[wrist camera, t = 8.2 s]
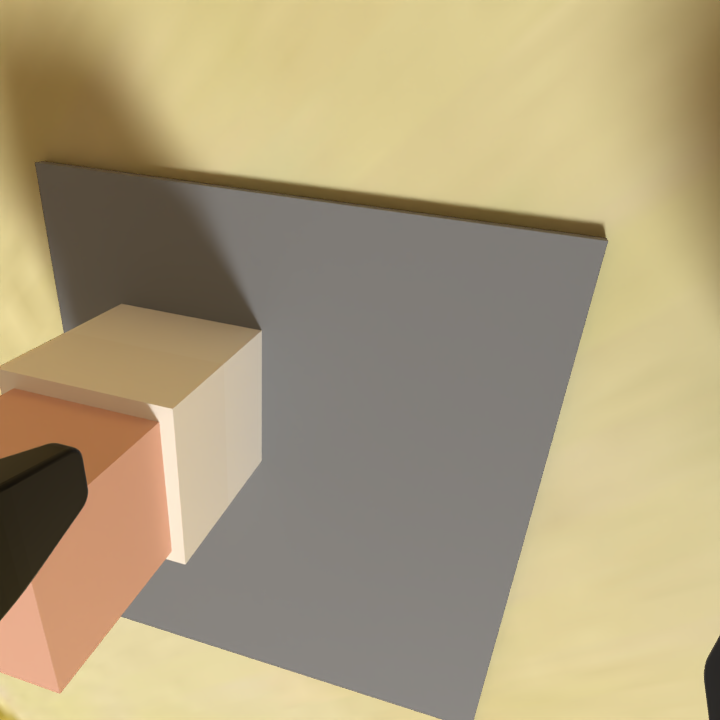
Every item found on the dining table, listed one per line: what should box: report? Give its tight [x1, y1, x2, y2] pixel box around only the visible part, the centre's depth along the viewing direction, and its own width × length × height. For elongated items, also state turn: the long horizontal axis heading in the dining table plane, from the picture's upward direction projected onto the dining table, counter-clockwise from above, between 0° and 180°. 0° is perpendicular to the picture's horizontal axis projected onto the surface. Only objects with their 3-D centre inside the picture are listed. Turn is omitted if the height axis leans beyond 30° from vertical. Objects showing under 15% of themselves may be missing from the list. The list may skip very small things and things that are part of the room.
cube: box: [0, 388, 172, 693], centre depth 16 cm, size 5×5×5 cm
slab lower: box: [67, 304, 262, 506], centre depth 22 cm, size 6×6×3 cm
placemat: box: [35, 161, 608, 720], centre depth 24 cm, size 20×24×1 cm
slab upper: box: [0, 332, 228, 565], centre depth 19 cm, size 6×6×3 cm
